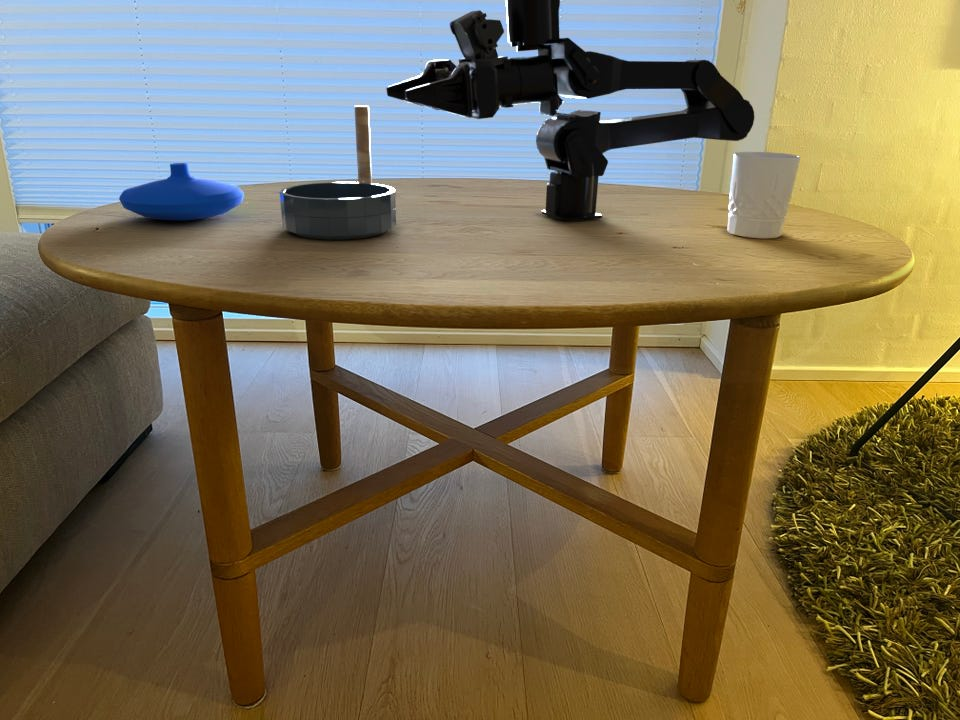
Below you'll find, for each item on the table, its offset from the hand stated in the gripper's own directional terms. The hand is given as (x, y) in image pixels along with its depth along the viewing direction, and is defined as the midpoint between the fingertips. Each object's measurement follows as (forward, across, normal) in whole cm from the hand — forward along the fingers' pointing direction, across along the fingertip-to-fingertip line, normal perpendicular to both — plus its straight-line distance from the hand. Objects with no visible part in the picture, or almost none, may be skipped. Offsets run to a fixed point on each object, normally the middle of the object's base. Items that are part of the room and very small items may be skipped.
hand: (396, 93), depth 86 cm
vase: (+28, -14, +14) cm, 34 cm away
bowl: (+9, 0, +16) cm, 18 cm away
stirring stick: (+1, -24, +17) cm, 29 cm away
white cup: (-42, +18, +20) cm, 50 cm away
